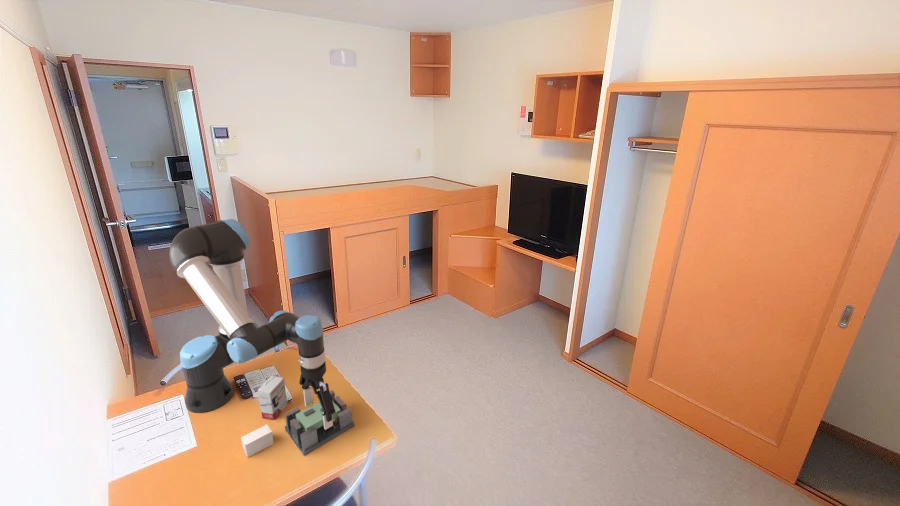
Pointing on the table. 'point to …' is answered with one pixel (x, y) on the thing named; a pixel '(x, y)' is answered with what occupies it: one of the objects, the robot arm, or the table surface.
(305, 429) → the board
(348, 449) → the table surface
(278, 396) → the ink box
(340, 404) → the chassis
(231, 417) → the table surface
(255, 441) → the riser
